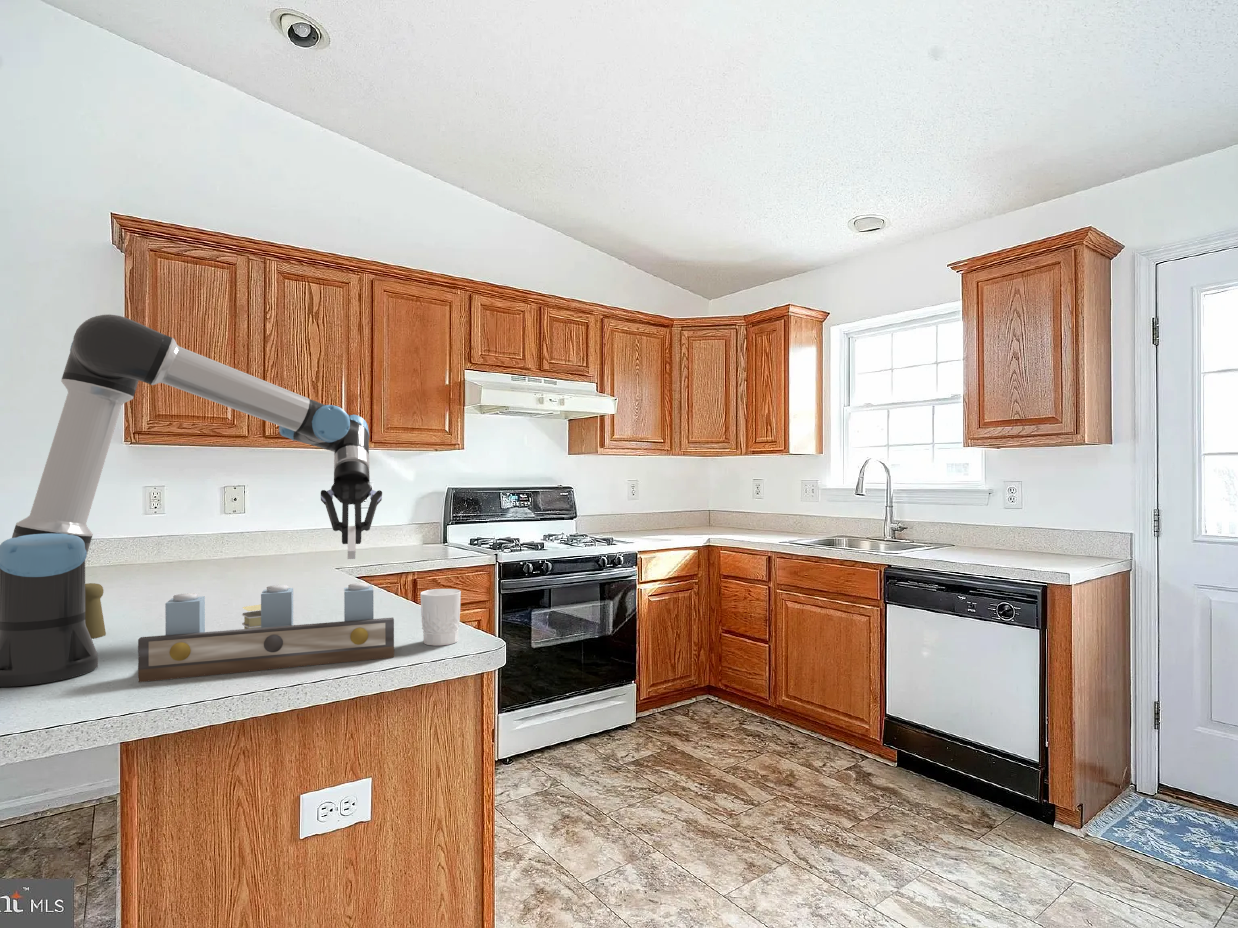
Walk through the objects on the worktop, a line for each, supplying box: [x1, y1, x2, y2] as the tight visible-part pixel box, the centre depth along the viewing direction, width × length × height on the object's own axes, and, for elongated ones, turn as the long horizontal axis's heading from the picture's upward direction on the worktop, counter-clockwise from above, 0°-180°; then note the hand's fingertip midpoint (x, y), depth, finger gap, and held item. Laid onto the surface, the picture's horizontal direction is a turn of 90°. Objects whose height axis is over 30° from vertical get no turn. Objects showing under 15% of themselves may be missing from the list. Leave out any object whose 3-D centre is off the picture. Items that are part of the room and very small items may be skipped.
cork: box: [85, 582, 107, 639], centre depth 149 cm, size 6×6×11 cm
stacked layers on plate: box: [241, 603, 261, 629], centre depth 153 cm, size 10×9×6 cm
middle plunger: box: [260, 584, 294, 628], centre depth 131 cm, size 5×5×11 cm
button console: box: [137, 617, 395, 683], centre depth 130 cm, size 13×40×7 cm, turn 111°
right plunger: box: [343, 582, 375, 621], centre depth 133 cm, size 5×5×11 cm
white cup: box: [420, 588, 462, 647], centre depth 143 cm, size 8×8×10 cm
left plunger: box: [164, 592, 206, 635], centre depth 123 cm, size 5×5×11 cm
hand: (351, 554), depth 146 cm, fingers closed
